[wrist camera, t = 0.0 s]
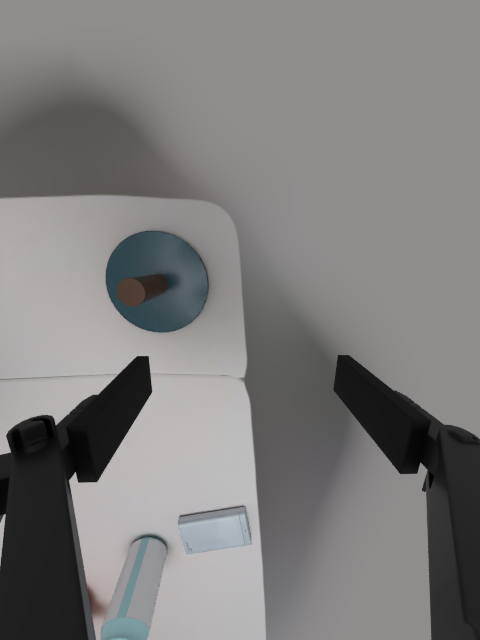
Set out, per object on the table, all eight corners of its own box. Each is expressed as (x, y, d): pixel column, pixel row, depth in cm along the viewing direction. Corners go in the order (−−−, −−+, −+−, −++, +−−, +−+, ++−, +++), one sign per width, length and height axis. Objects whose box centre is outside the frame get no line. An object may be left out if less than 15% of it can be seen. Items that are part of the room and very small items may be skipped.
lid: (103, 231, 28) (45, 216, 20) (207, 232, 29) (196, 219, 20) (116, 330, 32) (72, 356, 23) (209, 330, 32) (201, 355, 24)
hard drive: (187, 556, 42) (251, 546, 42) (177, 525, 40) (245, 514, 40) (188, 545, 43) (250, 535, 43) (179, 515, 41) (244, 505, 41)
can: (169, 558, 44) (146, 664, 32) (133, 560, 44) (98, 667, 32) (166, 533, 42) (141, 635, 31) (128, 534, 42) (89, 638, 30)
